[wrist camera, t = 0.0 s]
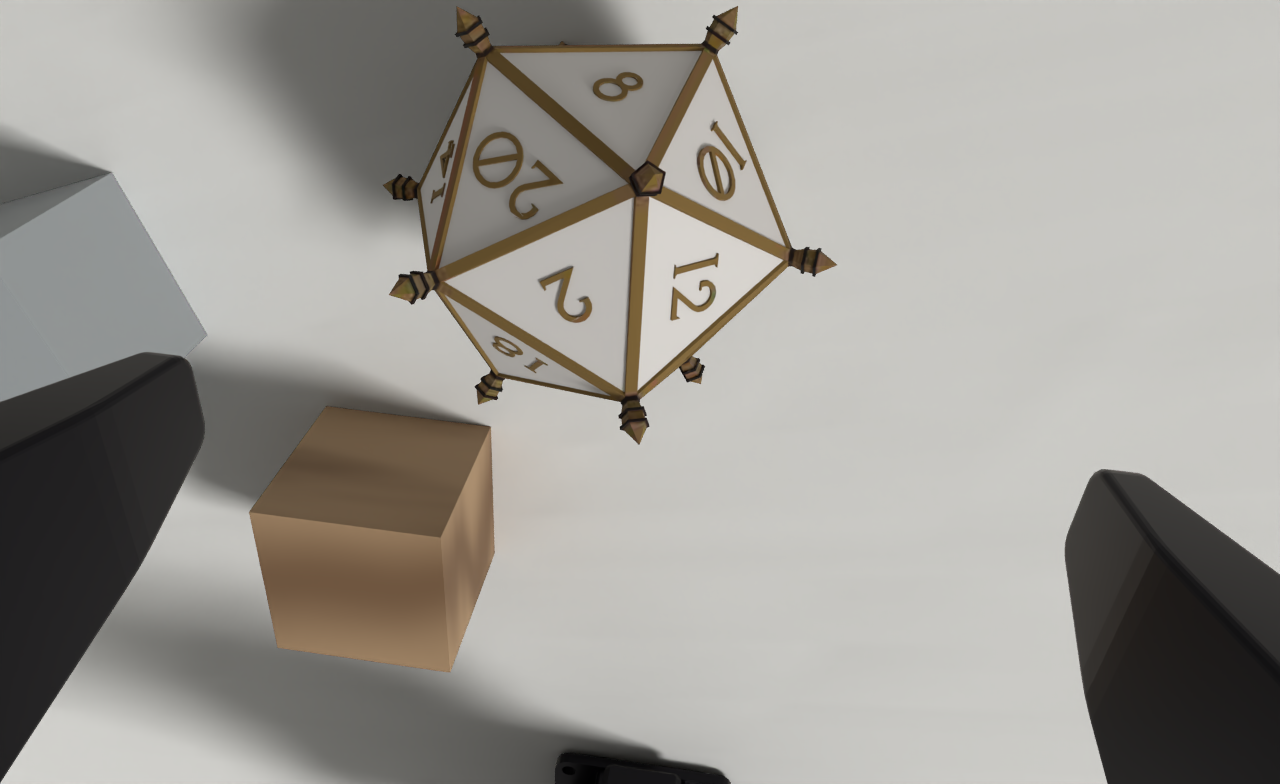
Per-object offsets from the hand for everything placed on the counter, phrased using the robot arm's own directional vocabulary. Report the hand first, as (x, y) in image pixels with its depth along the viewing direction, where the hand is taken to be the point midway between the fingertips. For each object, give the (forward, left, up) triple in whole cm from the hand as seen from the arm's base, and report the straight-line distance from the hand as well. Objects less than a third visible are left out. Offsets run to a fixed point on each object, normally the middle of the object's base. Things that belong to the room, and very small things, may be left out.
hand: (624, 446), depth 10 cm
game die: (-2, +2, -15) cm, 15 cm away
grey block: (-7, +17, -15) cm, 24 cm away
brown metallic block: (-13, +8, -15) cm, 21 cm away
